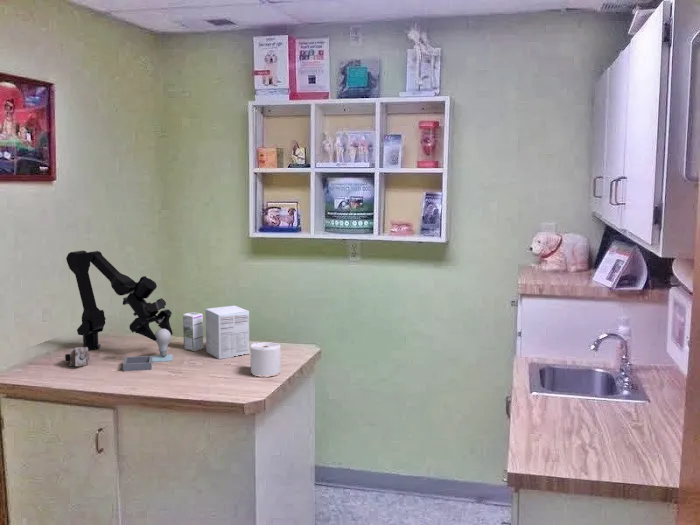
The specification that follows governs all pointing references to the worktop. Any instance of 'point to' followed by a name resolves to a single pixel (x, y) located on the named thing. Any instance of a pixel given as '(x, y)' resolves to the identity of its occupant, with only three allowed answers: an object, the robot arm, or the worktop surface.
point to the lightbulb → (163, 340)
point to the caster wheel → (78, 356)
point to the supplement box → (227, 331)
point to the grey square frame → (137, 363)
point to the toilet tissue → (265, 358)
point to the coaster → (162, 358)
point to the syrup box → (193, 331)
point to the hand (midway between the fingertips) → (164, 337)
